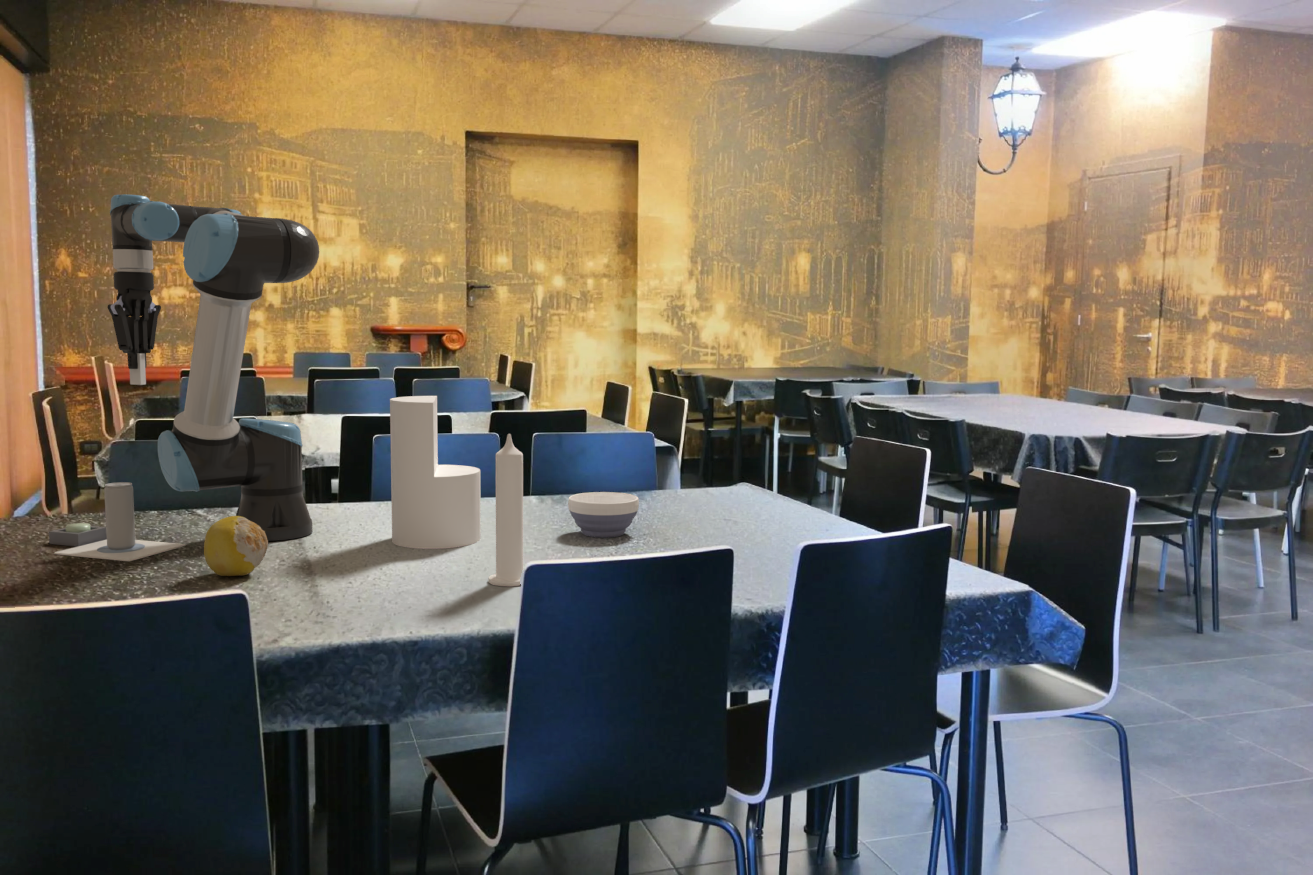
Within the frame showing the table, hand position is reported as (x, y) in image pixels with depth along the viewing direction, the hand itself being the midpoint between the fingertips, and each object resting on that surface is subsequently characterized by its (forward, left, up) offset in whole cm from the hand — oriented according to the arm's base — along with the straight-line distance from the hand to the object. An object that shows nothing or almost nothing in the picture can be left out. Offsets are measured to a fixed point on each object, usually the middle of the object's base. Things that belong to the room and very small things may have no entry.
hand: (138, 384), depth 227 cm
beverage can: (-18, +25, -29) cm, 42 cm away
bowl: (-97, -21, -29) cm, 103 cm away
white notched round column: (-68, -4, -29) cm, 74 cm away
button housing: (-5, +22, -29) cm, 37 cm away
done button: (-5, +22, -28) cm, 36 cm away
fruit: (-51, +34, -29) cm, 68 cm away
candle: (-96, +22, -29) cm, 102 cm away
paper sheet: (-18, +25, -29) cm, 42 cm away
